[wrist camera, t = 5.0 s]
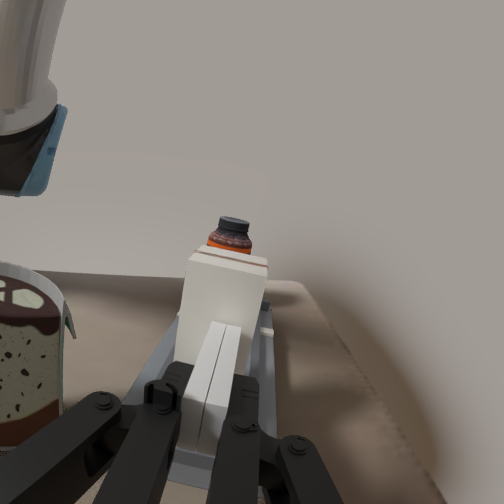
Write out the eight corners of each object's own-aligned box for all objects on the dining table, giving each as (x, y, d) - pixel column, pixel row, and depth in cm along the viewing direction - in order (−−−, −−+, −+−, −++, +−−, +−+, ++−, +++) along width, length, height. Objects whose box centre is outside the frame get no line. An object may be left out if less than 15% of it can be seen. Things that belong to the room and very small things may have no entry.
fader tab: (158, 413, 17) (175, 259, 15) (176, 372, 22) (196, 241, 20) (238, 432, 17) (277, 281, 15) (243, 387, 22) (274, 258, 20)
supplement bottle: (220, 311, 41) (237, 224, 38) (188, 294, 44) (202, 213, 42) (247, 303, 45) (265, 225, 43) (217, 288, 49) (231, 215, 46)
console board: (102, 458, 14) (98, 424, 14) (190, 306, 40) (193, 283, 39) (269, 498, 14) (284, 468, 14) (268, 323, 40) (273, 300, 39)
